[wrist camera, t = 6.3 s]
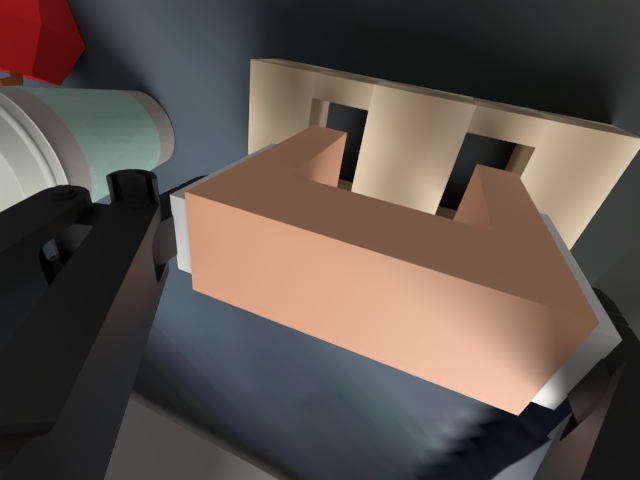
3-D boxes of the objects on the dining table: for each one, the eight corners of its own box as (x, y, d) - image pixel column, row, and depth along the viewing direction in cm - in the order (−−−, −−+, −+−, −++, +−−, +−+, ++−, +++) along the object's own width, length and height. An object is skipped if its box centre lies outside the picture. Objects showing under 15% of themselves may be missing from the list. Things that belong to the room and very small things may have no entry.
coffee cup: (85, 100, 27) (-118, 127, 18) (146, 48, 23) (-75, 45, 13) (145, 191, 30) (-2, 258, 20) (208, 159, 26) (62, 223, 16)
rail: (270, 176, 25) (247, 192, 22) (278, 58, 21) (250, 59, 18) (534, 250, 21) (547, 282, 18) (612, 124, 17) (645, 140, 14)
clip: (305, 186, 19) (193, 289, 11) (314, 124, 17) (184, 191, 9) (485, 237, 17) (517, 415, 8) (517, 173, 15) (599, 322, 7)
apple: (-98, -87, 18) (-93, 62, 20) (15, -62, 18) (11, 86, 20) (20, -17, 25) (16, 90, 27) (103, 2, 25) (95, 109, 27)
